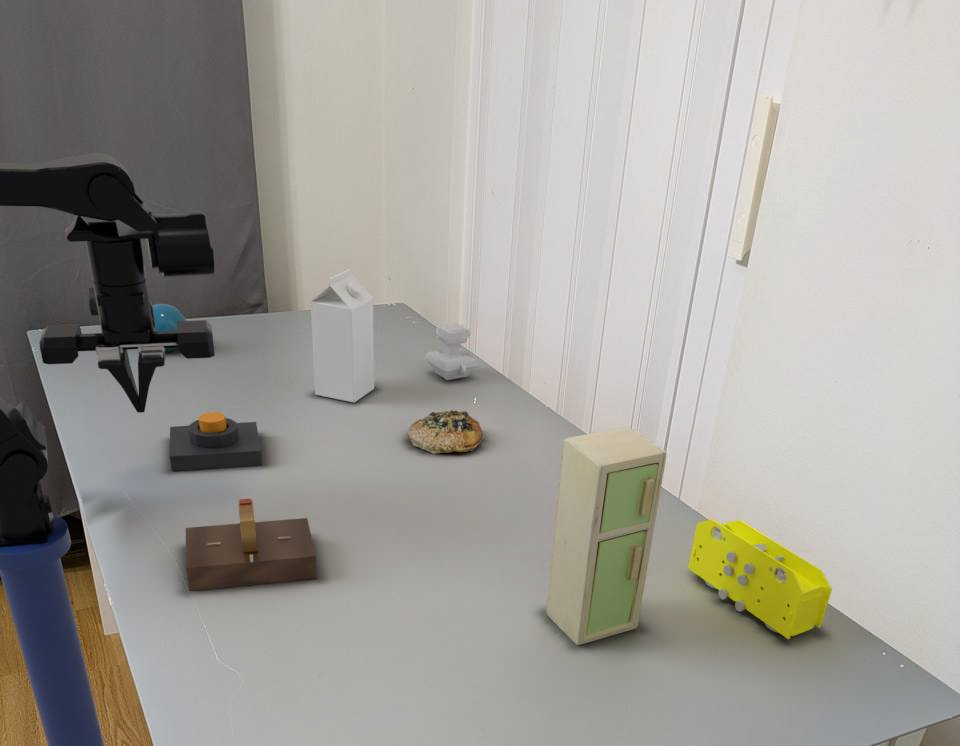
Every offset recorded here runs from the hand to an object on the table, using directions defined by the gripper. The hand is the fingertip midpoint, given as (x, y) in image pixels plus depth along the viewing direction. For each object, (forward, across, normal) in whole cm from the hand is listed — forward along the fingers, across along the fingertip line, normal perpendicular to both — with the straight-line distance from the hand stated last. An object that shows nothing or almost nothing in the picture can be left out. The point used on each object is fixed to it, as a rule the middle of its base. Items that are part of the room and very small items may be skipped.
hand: (141, 411), depth 114 cm
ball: (+12, -1, -57) cm, 58 cm away
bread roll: (+12, -41, -12) cm, 44 cm away
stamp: (+12, -48, -38) cm, 62 cm away
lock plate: (+12, -11, +18) cm, 24 cm away
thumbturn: (+9, -11, +18) cm, 23 cm away
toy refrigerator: (+12, -46, +37) cm, 60 cm away
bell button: (+8, -8, -13) cm, 17 cm away
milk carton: (+12, -29, -33) cm, 46 cm away
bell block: (+12, -8, -13) cm, 19 cm away
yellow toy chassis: (+12, -65, +36) cm, 76 cm away
